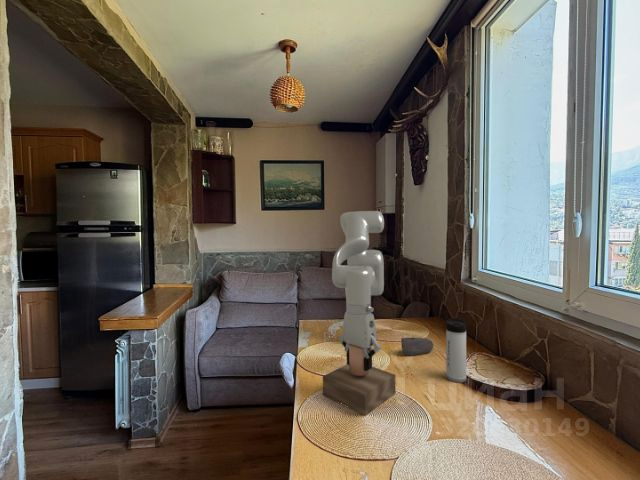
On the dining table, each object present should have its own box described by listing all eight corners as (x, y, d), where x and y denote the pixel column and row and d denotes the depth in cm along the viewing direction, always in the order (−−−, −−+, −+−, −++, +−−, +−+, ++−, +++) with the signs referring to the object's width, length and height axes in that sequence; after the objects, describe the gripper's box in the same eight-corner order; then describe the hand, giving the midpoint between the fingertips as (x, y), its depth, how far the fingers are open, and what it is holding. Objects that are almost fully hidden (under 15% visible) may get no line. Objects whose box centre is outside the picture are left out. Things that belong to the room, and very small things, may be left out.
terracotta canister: (357, 365, 101) (356, 340, 101) (372, 370, 97) (372, 345, 96) (345, 371, 96) (345, 345, 96) (361, 377, 92) (360, 350, 92)
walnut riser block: (354, 377, 108) (354, 360, 108) (395, 393, 97) (395, 374, 97) (322, 395, 96) (322, 376, 96) (365, 415, 85) (365, 394, 85)
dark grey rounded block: (430, 350, 132) (430, 334, 132) (437, 355, 127) (436, 338, 127) (397, 353, 130) (397, 336, 129) (402, 358, 124) (402, 340, 124)
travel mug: (465, 375, 109) (464, 318, 108) (467, 384, 102) (467, 323, 102) (445, 372, 111) (445, 317, 110) (446, 381, 104) (446, 322, 104)
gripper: (389, 311, 93) (389, 370, 93) (344, 302, 105) (345, 355, 105) (375, 316, 87) (375, 379, 88) (329, 306, 99) (330, 362, 100)
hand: (359, 365), depth 96 cm, fingers closed on terracotta canister, 5 cm apart
